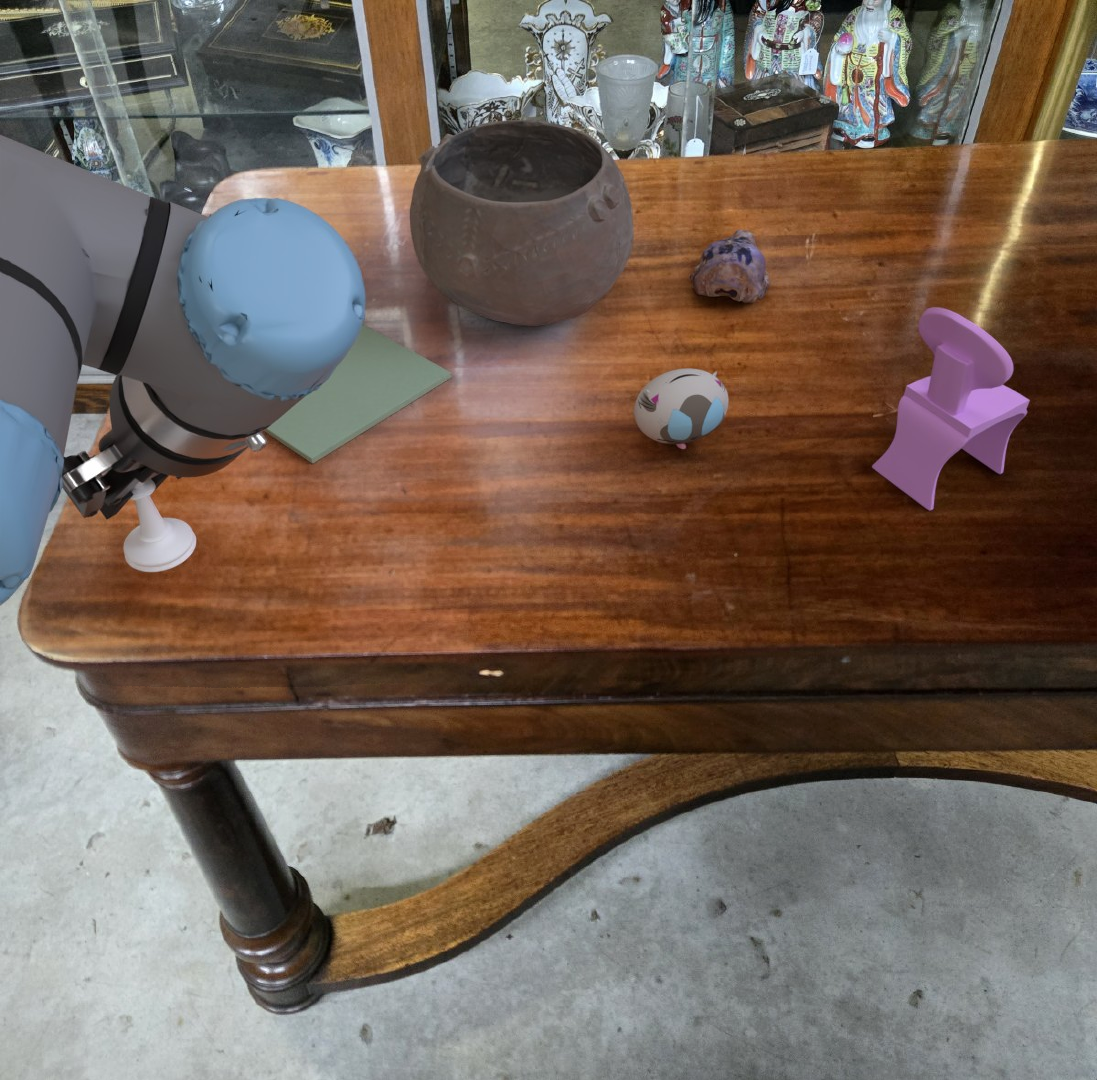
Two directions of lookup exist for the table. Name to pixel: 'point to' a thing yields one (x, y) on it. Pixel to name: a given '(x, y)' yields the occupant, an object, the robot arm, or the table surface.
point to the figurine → (681, 406)
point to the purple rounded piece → (732, 269)
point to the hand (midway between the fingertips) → (118, 490)
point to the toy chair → (952, 407)
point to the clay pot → (521, 220)
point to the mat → (357, 395)
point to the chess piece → (156, 535)
